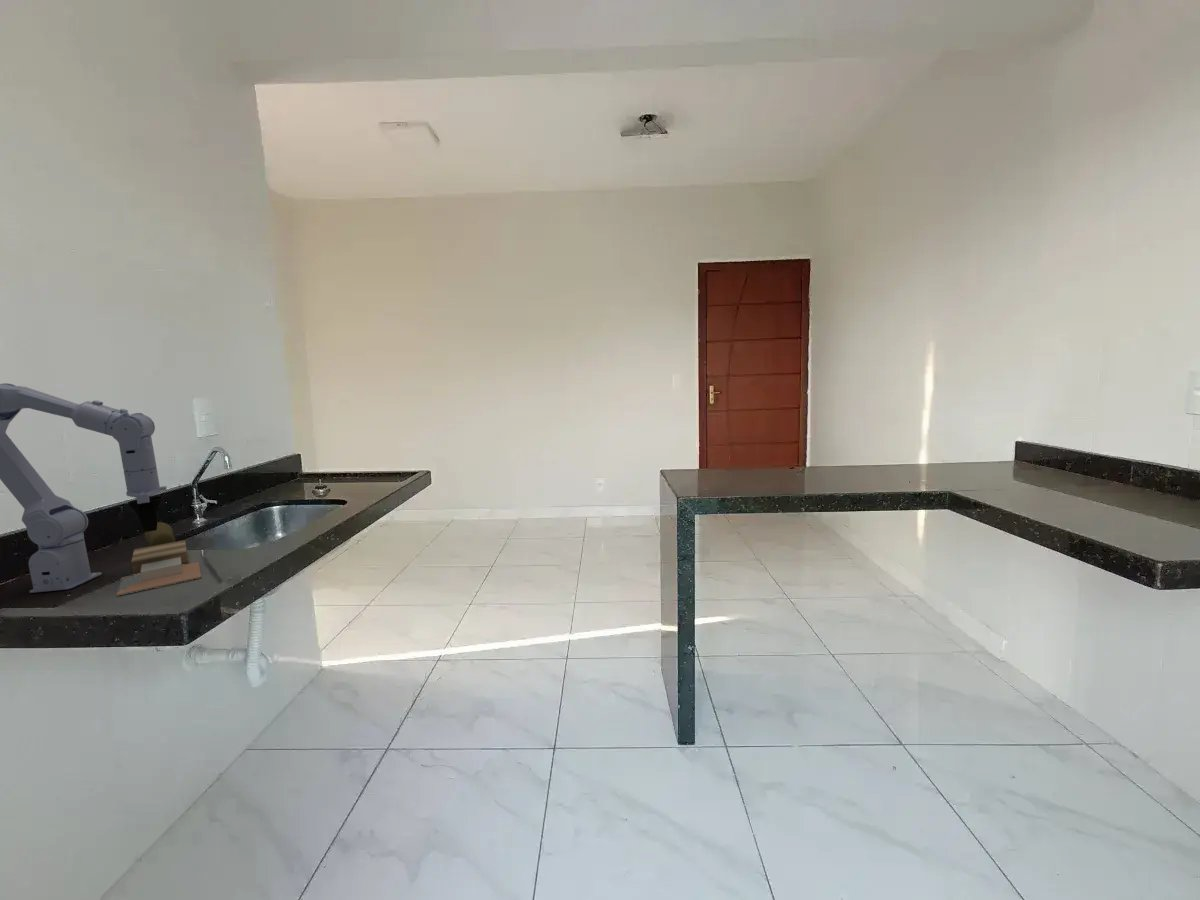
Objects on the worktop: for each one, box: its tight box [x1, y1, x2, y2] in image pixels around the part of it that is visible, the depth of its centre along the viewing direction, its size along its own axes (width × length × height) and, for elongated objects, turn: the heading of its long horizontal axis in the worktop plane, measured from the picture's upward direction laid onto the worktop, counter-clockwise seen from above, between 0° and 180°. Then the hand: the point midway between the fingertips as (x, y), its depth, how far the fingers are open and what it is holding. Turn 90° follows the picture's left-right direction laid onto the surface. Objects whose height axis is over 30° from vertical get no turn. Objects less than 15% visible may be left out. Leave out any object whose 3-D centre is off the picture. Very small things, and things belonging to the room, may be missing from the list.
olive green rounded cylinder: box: [144, 521, 176, 547], centre depth 152 cm, size 6×6×11 cm
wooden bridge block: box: [130, 539, 189, 575], centre depth 139 cm, size 14×10×3 cm
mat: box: [116, 561, 202, 596], centre depth 127 cm, size 14×14×1 cm
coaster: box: [141, 557, 183, 581], centre depth 130 cm, size 7×7×2 cm
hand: (150, 530), depth 132 cm, fingers closed
